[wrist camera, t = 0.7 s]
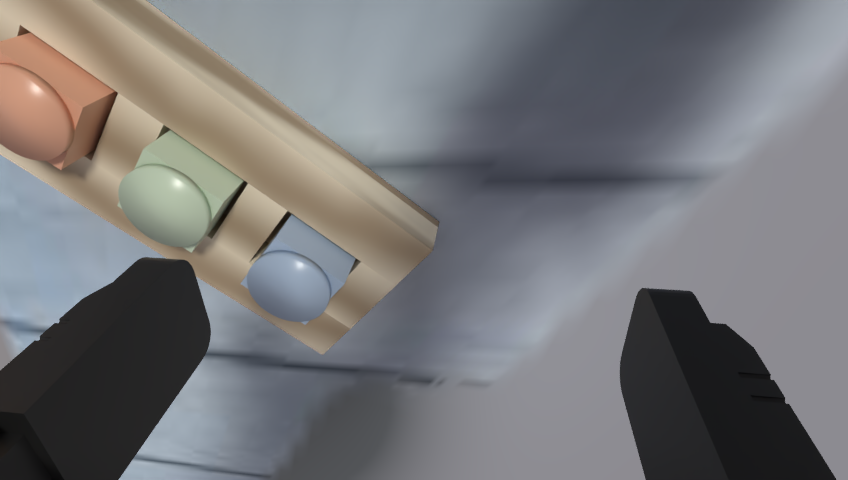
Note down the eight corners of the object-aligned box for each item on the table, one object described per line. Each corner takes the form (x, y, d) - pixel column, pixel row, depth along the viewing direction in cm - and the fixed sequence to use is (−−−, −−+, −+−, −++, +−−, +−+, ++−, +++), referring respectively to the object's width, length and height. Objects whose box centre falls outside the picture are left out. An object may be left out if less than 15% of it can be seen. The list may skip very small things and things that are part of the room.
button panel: (33, -85, 24) (-22, -83, 22) (439, 222, 30) (432, 250, 28) (-9, 101, 30) (-55, 120, 28) (335, 324, 37) (322, 355, 34)
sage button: (172, 125, 27) (134, 150, 24) (248, 178, 28) (220, 207, 25) (144, 182, 29) (107, 211, 26) (214, 229, 30) (186, 261, 27)
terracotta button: (33, 28, 25) (-24, 44, 22) (120, 89, 26) (76, 111, 23) (15, 98, 27) (-39, 120, 24) (96, 151, 28) (53, 177, 26)
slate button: (292, 209, 28) (270, 241, 26) (359, 255, 30) (344, 290, 27) (256, 257, 31) (233, 290, 28) (319, 298, 32) (302, 333, 29)
